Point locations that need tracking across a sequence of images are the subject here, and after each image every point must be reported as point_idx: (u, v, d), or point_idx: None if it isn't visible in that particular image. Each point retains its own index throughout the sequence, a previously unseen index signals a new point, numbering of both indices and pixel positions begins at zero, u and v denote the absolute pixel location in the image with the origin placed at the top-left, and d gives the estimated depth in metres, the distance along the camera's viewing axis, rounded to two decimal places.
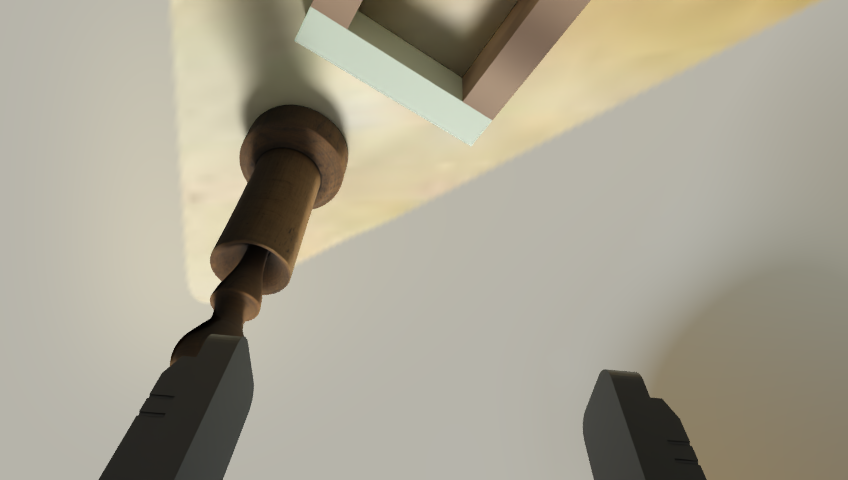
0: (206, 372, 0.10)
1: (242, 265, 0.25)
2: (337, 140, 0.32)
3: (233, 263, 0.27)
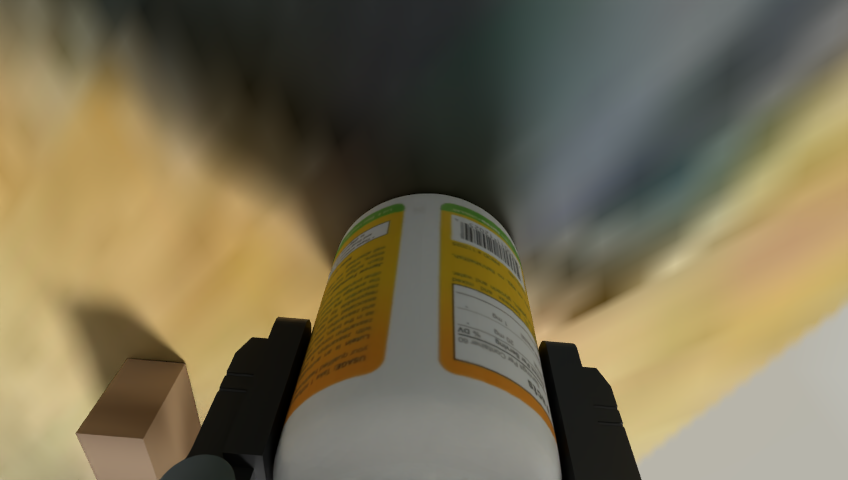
0: (280, 351, 0.11)
1: None
2: None
3: None
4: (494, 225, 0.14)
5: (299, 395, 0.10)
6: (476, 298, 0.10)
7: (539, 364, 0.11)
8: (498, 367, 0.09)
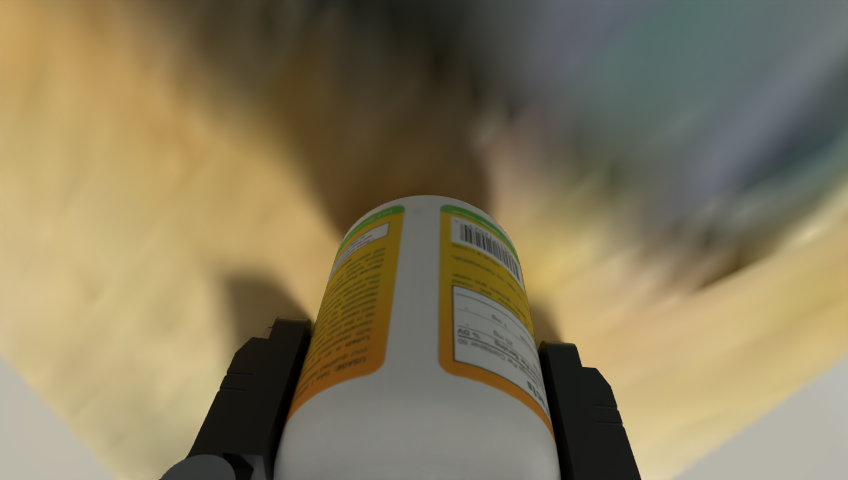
0: (280, 351, 0.11)
1: None
2: None
3: None
4: (494, 226, 0.14)
5: (299, 396, 0.10)
6: (476, 300, 0.11)
7: (538, 365, 0.11)
8: (497, 369, 0.09)
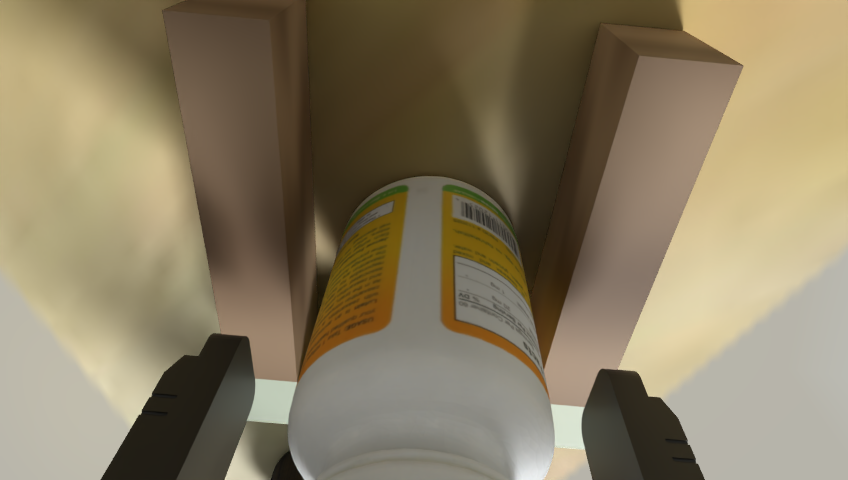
0: (208, 371, 0.10)
1: None
2: None
3: None
4: (494, 205, 0.14)
5: (312, 355, 0.10)
6: (475, 269, 0.11)
7: (534, 331, 0.12)
8: (495, 328, 0.10)
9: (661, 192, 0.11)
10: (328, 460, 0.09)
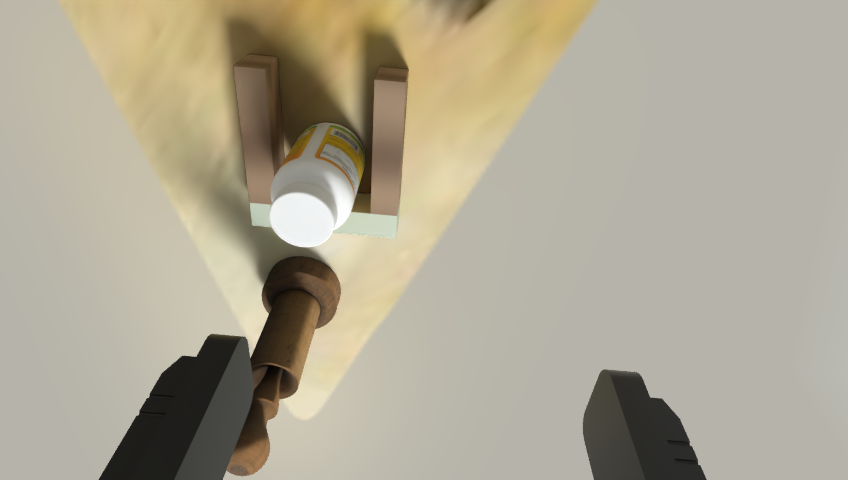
0: (206, 372, 0.10)
1: (261, 381, 0.37)
2: (319, 270, 0.44)
3: None
4: (350, 133, 0.38)
5: (278, 170, 0.34)
6: (332, 147, 0.35)
7: (353, 169, 0.35)
8: (332, 160, 0.33)
9: (393, 123, 0.35)
10: None
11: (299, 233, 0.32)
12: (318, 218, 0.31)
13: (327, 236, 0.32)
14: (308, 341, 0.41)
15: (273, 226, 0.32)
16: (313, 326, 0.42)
